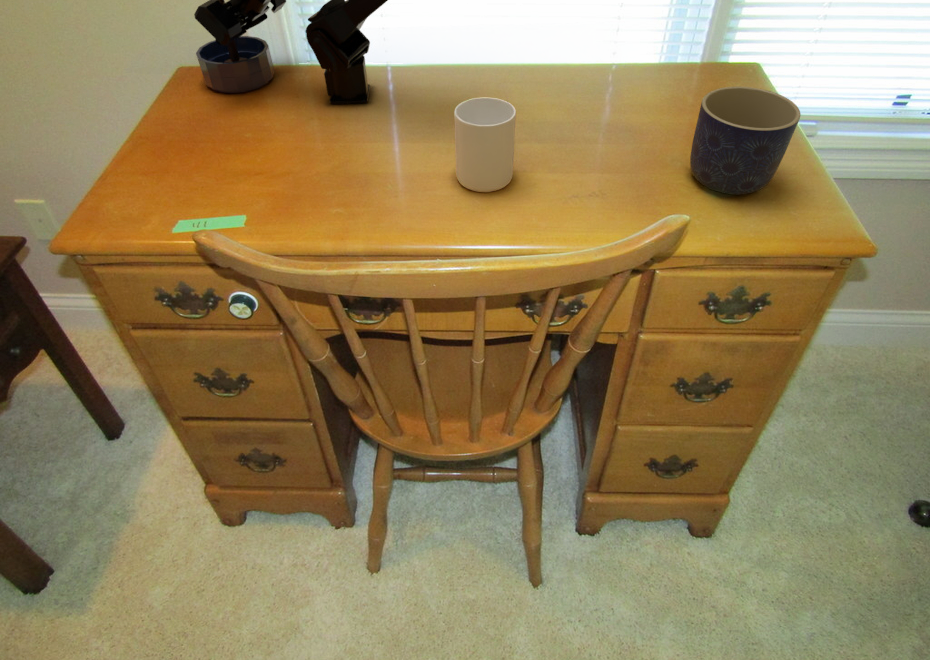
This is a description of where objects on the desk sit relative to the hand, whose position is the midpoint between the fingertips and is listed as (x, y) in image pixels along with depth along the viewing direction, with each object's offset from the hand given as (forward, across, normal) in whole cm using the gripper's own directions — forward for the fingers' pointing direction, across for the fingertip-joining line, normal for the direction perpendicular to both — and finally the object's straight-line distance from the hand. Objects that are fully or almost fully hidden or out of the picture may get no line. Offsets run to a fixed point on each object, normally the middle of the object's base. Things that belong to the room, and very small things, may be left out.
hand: (223, 39), depth 112 cm
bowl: (+4, 0, +6) cm, 7 cm away
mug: (-33, +16, +43) cm, 57 cm away
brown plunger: (+4, 0, +6) cm, 7 cm away
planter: (-57, +8, +67) cm, 88 cm away
